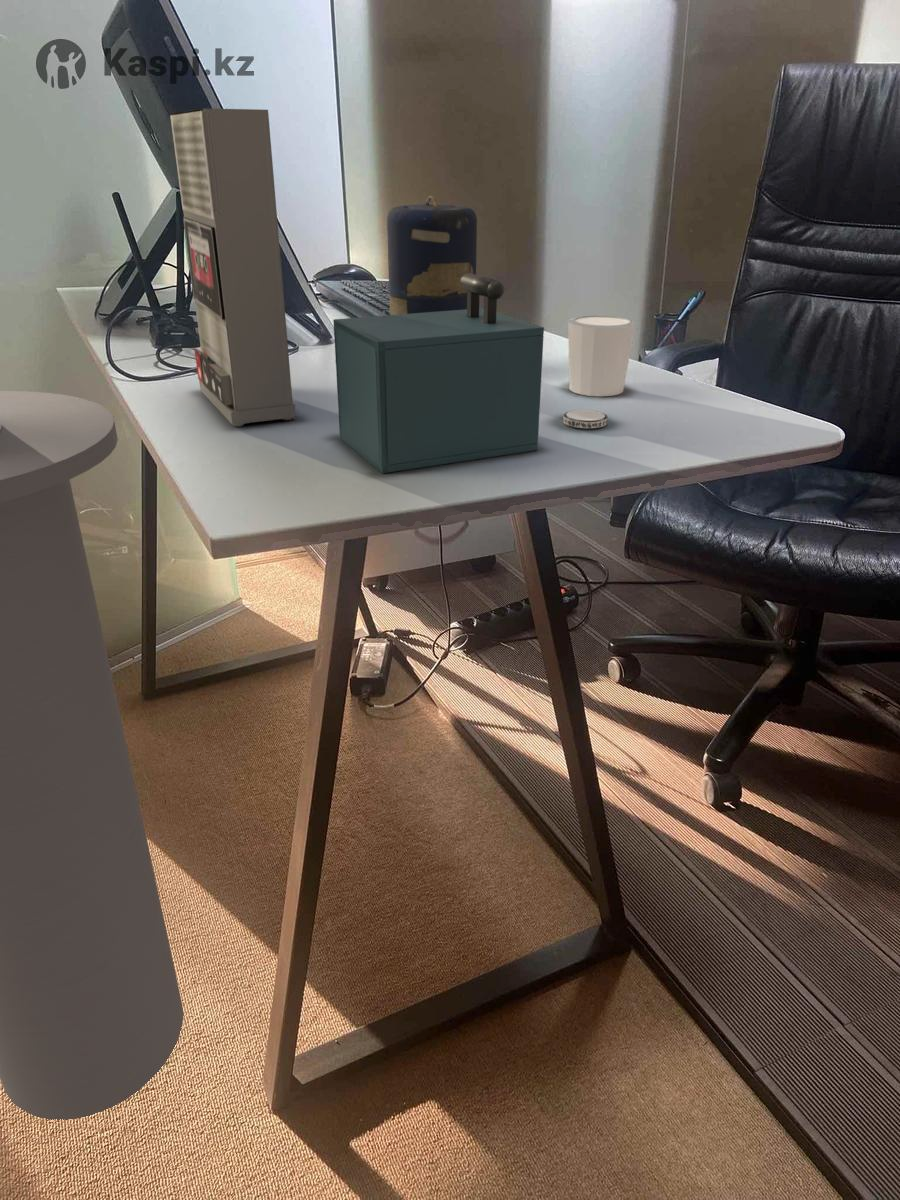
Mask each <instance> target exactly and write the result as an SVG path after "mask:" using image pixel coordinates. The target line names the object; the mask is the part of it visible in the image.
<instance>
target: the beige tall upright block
mask: <svg viewBox="0 0 900 1200" xmlns="http://www.w3.org/2000/svg"><path fill="white" fill-rule="evenodd" d="M170 124H171V131H172V139H173V145H174V154H175V161H176V163H175V164H176V169H177V178H178V185H179V193H180V200H181V208H182V213H183V217H182V222H183V229H184V238H185V245H186V252H187V253H186V254H187V261H188V268H189V276H190V283H191V284H190V285H191V290H192V299H193V301H194V305H195V306H194V307H195V313H196V322H197V329H198V336H199V345H200V351H199V349H197V348H195V347H194V349H193V350H194V356H195V363H196V371H197V379H198V382H199V390H200V391H201V392H202V393H203V395H204V396H205V397H206V398H207V399H208V400H209V401H210V403H212V404H213V406H214V407H215V408H216V409H217V410H218V411H219V412H220V413H221V414H222V416H224V417H225V419H226V420H227V421H228V422H229V423H230V424H231V425H232V426H234V427H243V426H245V424H250V423H259V422H266V421H274V420H275V421H276V420H284V421H292V420H294V418H296V407H295V405H296V404H294V401H293V390H292V380H291V377H292V376H291V367H290V356H289V355H290V354H289V343H288V330H287V320H286V307H285V306H286V305H285V295H284V294H285V293H284V283H283V271H282V260H281V247H280V236H279V224H278V213H277V201H276V199H277V198H276V188H275V187H276V186H275V177H274V163H273V152H272V142H271V141H272V139H271V130H270V129H271V128H270V117H269V109H253V108H251V109H250V108H206V107H205V108H204V107H203V108H196V109H190V110H184V111H177V112H171V113H170Z"/></svg>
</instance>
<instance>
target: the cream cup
mask: <svg viewBox="0 0 900 1200" xmlns="http://www.w3.org/2000/svg"><path fill="white" fill-rule="evenodd" d="M636 325H637V322H636V321H634V320H633V319H629V318H625V317H619V316H611V315H583V316H576V317H572V318H569V319H568V321H567V335H568V339H567V340H568V381H569V383H568V384H569V385H568V386H569V391H571V392H572V393H575V394H578V395H581V396H588V397H613V396H617V395H620V394H623V393H624V389H625V383H626V377H627V373H628V367H629V363H630V357H631V352H632V348H633V347H632V346H633V341H634V336H635V331H636V327H637V326H636Z"/></svg>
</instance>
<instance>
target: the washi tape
mask: <svg viewBox="0 0 900 1200" xmlns="http://www.w3.org/2000/svg"><path fill="white" fill-rule="evenodd" d="M562 418H563V419H562V422H563V424H565V425H567V426H569V427H572V428H578V429H597V428H598V429H599V428H603V427H605V426H607V424H608V415H607V414H606V413H604V412H602V411H601V412H600V411H597V410H589V409H574V410H568V411H566V412H565V413H563V417H562Z"/></svg>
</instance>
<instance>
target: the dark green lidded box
mask: <svg viewBox="0 0 900 1200" xmlns="http://www.w3.org/2000/svg"><path fill="white" fill-rule="evenodd" d="M461 286H462V288H463V289H464V290H465V291H467V309H465V310H452V311H439V312H426V313H412V314H399V315H390V314H389V315H388V314H387V315H374V316H363V317H362V316H361V317H349V318H348V317H347V318H333V335H334V336H333V337H334V338H333V339H334V355H335V370H336V371H335V372H336V389H337V407H338V423H339V439H340V440H341V441H343V442H344V443H345V444H346V445H347V446H348V447H350V448H351V449H352V450H353V451H355V452H356V453H357V454H358V455H359V456H361V457H362V458H363V459H364V460H366V461H367V462H368V464H370V465H371V466H372V467H374V468H375V469H376V470H377V471H378V472H380V473H381V474H388V473H393V472H394V473H395V472H400V471H408V470H414V469H421V468H427V467H434V466H440V465H447V464H454V463H461V462H468V461H474V460H480V459H487V458H494V457H501V456H506V455H513V454H519V453H526V452H533V451H538V443H539V429H540V412H541V411H540V409H541V389H542V374H543V372H542V371H543V356H544V355H543V354H544V338H545V337H544V335H545V333H544V332H545V327H544V326H541V325H538V324H535V323H531V322H529V321H525V320H523V319H520V318H516V317H513V316H510V315H508V314H504V313H501V312H499V311H498V310H497V308H498V307H497V305H498V300H499V299H501V298H502V297H503V296H504V294H505V286H504V284H503V283H502V282H501V281H500V280H496V279H493V278H491V277H490V278H489V277H486V276H481V275H478V274H476V275H475V274H471V273H468V274H465V275H464V276H463V277H462V278H461ZM480 296H481V297H483V307H480Z"/></svg>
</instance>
